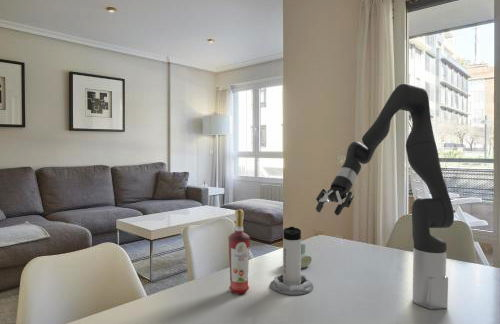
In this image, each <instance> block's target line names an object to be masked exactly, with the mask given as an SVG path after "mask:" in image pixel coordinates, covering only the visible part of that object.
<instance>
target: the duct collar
mask: <svg viewBox="0 0 500 324" xmlns="http://www.w3.org/2000/svg"><path fill="white" fill-rule="evenodd" d="M270 288H271V290H272V291H274V292H276V293H278V294H281V295H285V296H301V295H306V294H307V295H308V294H310V293H311V292H312V291H313V290H314V284H313V283H312V282H311V281H310V279H309V278H308V277H307V275H304V274H301V284H298V285H288V284H284V283H283V273H279V274H278V275H276V276H274V278H273V280H272V281H271V282H270Z"/></svg>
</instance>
